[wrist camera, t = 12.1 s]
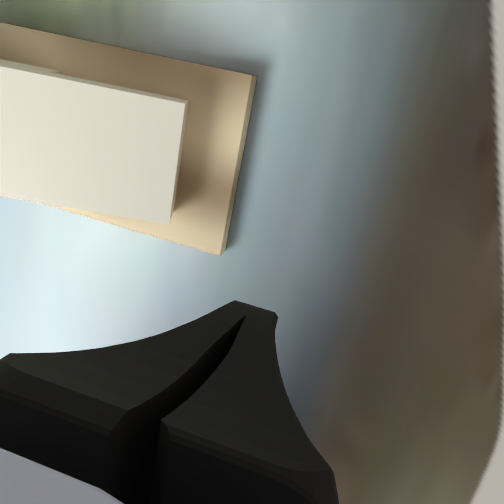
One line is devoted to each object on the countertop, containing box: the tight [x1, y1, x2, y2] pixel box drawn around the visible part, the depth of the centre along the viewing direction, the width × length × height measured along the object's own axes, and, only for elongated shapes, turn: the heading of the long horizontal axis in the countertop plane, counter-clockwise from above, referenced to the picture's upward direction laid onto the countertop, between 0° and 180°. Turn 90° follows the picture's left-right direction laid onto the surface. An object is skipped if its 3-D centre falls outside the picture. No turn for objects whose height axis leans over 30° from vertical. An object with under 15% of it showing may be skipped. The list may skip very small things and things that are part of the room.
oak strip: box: [0, 22, 257, 256], centre depth 21 cm, size 8×24×1 cm, turn 79°
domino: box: [0, 62, 189, 224], centre depth 18 cm, size 5×2×8 cm
